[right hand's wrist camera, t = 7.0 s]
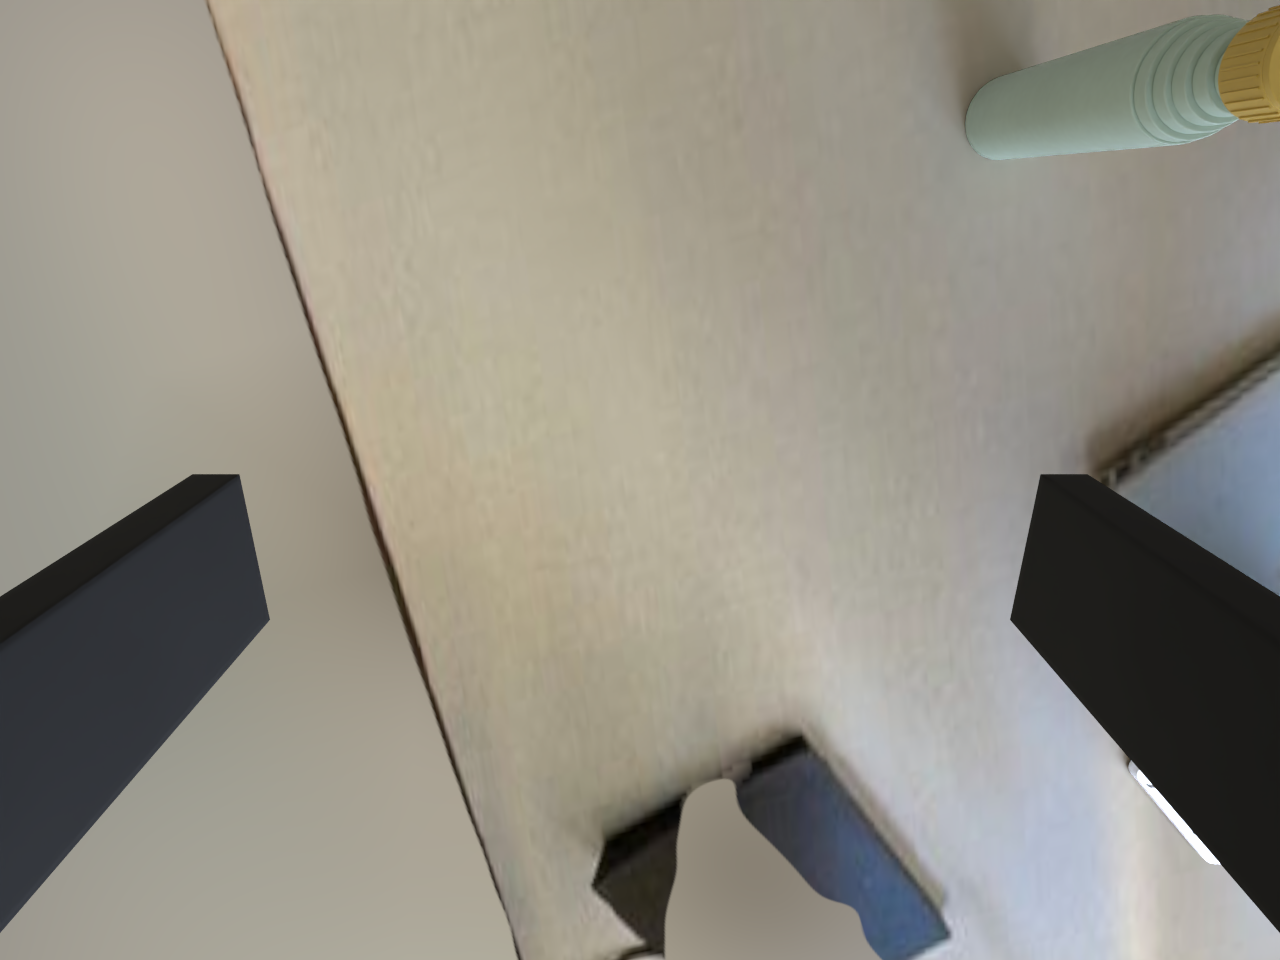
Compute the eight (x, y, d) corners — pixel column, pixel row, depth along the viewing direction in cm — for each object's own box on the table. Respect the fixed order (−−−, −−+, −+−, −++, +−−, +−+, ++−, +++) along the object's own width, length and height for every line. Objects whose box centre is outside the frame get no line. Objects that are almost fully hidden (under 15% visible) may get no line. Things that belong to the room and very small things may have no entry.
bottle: (1055, 86, 46) (1422, -6, 24) (1023, 168, 48) (1340, 150, 26) (982, 66, 46) (1290, -46, 24) (953, 149, 47) (1216, 115, 26)
